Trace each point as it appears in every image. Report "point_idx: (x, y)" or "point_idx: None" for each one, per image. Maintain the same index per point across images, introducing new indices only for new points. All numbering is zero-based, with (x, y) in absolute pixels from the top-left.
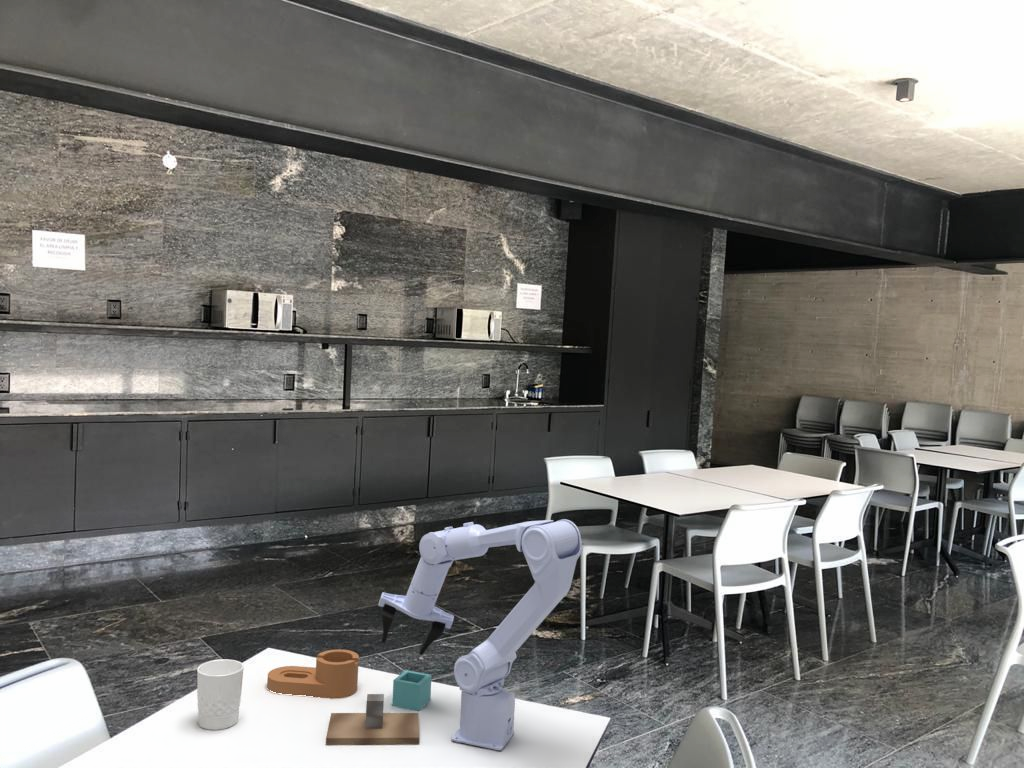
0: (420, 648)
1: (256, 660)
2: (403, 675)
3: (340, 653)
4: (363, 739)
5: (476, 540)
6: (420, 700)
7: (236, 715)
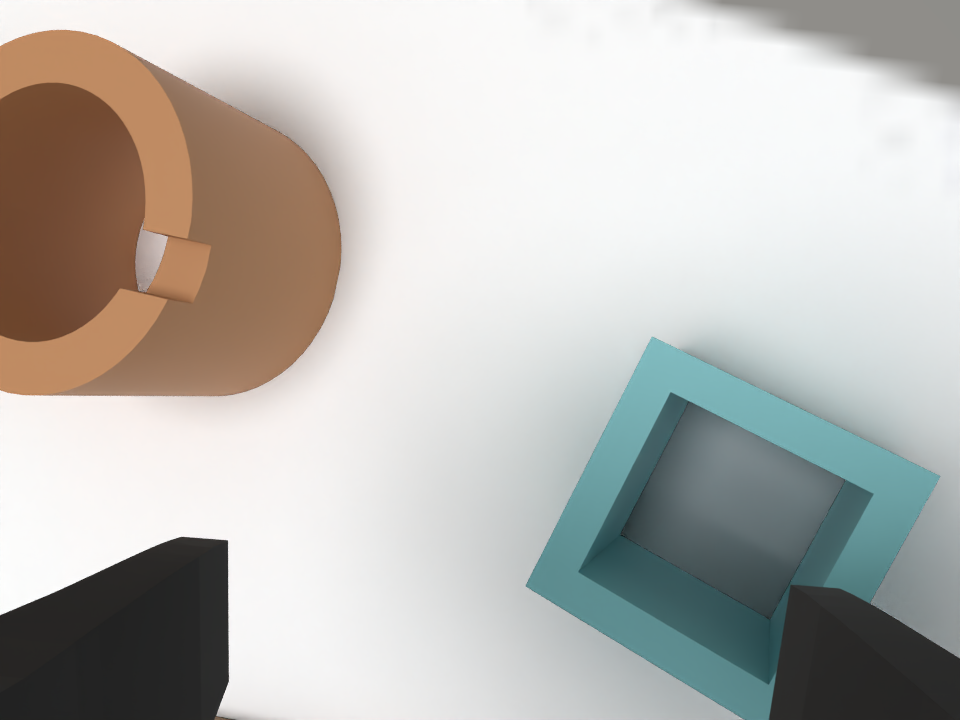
0: (792, 644)
1: None
2: (624, 475)
3: (69, 86)
4: None
5: None
6: None
7: None
